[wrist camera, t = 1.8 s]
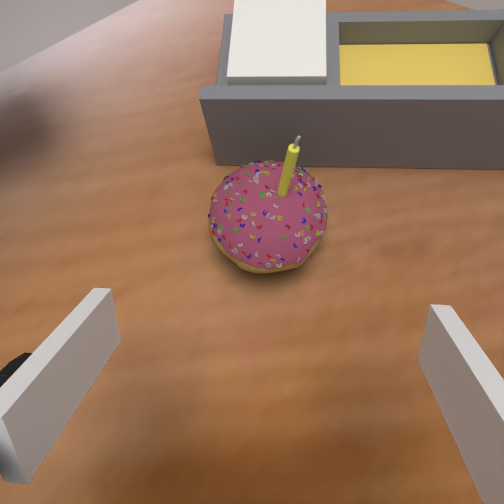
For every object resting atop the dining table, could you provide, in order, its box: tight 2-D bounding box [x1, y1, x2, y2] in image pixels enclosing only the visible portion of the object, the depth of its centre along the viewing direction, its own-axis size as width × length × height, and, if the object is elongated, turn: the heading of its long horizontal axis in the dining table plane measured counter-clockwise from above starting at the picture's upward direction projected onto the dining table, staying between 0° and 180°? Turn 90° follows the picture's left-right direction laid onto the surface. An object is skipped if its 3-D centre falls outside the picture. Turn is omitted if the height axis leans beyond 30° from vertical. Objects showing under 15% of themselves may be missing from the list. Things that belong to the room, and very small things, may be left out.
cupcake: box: [208, 136, 327, 273], centre depth 25 cm, size 9×8×12 cm
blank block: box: [227, 0, 326, 85], centre depth 31 cm, size 7×10×7 cm
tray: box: [199, 10, 504, 170], centre depth 31 cm, size 26×14×8 cm, turn 87°
